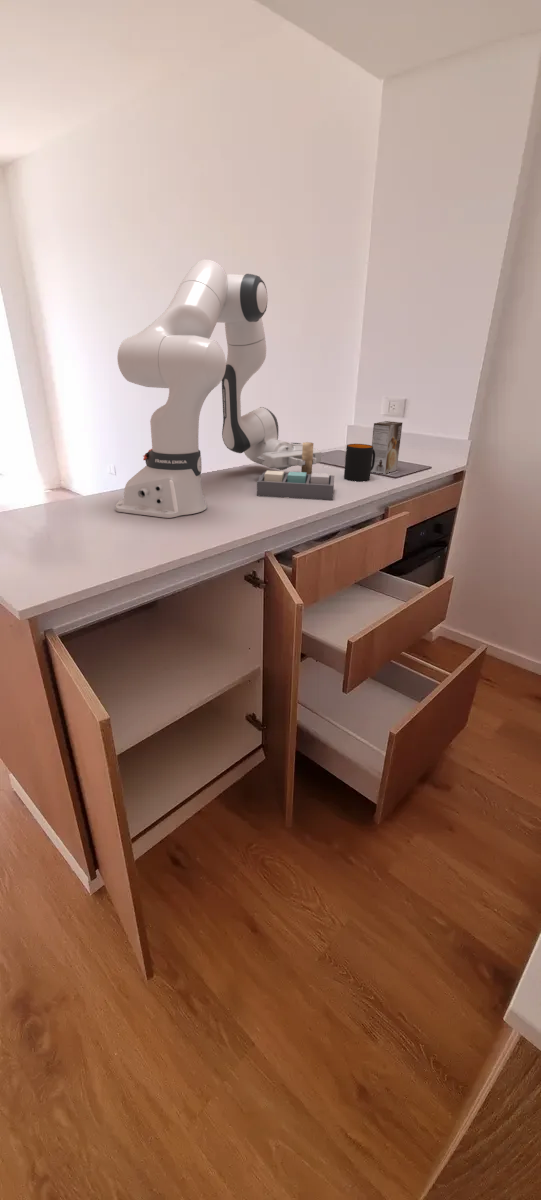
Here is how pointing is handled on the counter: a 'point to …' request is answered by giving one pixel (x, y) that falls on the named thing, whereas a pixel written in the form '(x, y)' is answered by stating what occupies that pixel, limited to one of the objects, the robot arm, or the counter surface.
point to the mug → (359, 462)
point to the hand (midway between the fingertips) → (309, 462)
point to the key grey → (319, 478)
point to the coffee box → (386, 446)
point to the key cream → (274, 476)
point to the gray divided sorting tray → (295, 488)
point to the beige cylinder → (307, 457)
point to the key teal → (297, 477)
